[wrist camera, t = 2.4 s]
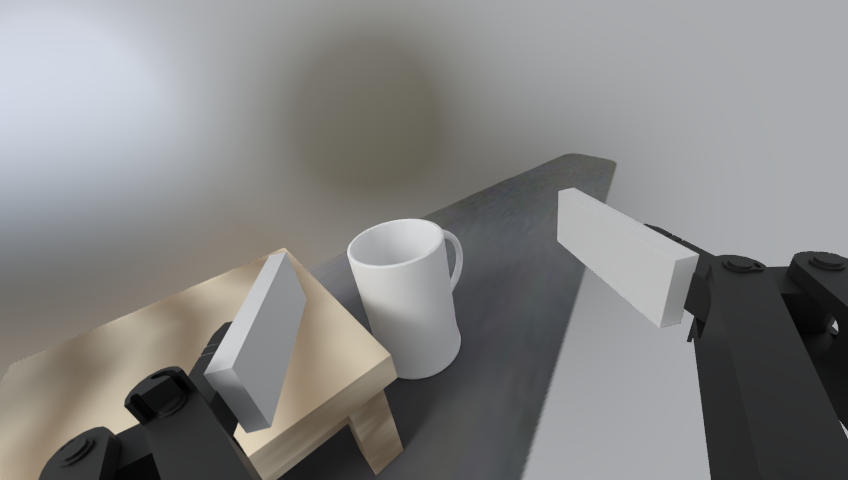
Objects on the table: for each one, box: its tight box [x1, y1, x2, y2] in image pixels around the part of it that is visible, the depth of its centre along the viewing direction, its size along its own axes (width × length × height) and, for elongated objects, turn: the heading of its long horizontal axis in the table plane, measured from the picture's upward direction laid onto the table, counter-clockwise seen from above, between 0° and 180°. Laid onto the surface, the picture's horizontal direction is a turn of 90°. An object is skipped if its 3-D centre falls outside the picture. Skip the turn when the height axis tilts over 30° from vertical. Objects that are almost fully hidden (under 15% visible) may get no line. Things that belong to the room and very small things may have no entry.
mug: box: [347, 219, 463, 379], centre depth 30 cm, size 12×8×12 cm
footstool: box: [0, 248, 403, 480], centre depth 23 cm, size 20×20×10 cm
